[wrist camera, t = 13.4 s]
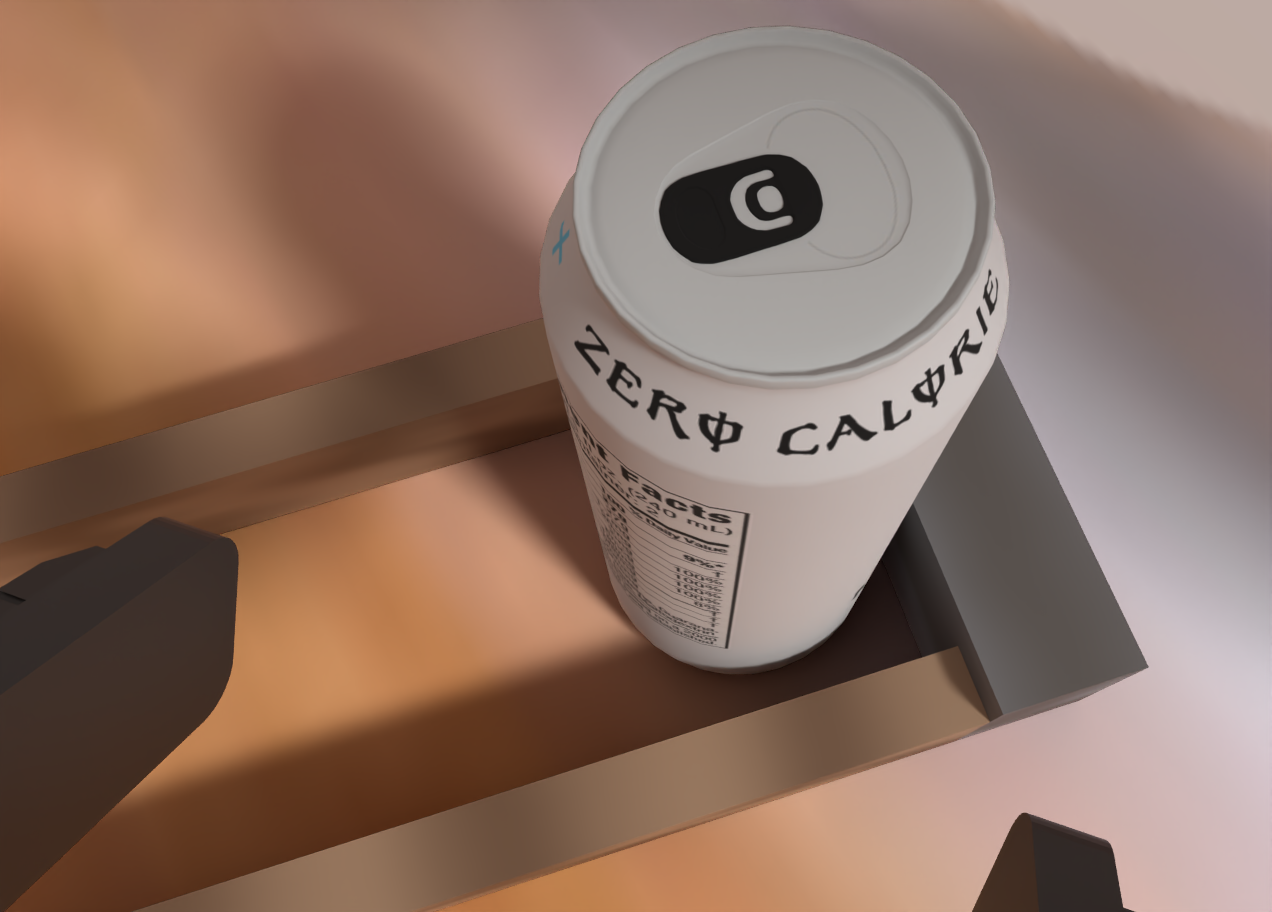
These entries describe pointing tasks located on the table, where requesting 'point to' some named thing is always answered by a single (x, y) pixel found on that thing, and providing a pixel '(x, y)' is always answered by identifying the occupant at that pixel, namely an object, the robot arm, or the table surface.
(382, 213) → the table surface
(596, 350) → the energy drink can
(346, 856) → the channel
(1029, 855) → the robot arm
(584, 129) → the table surface
